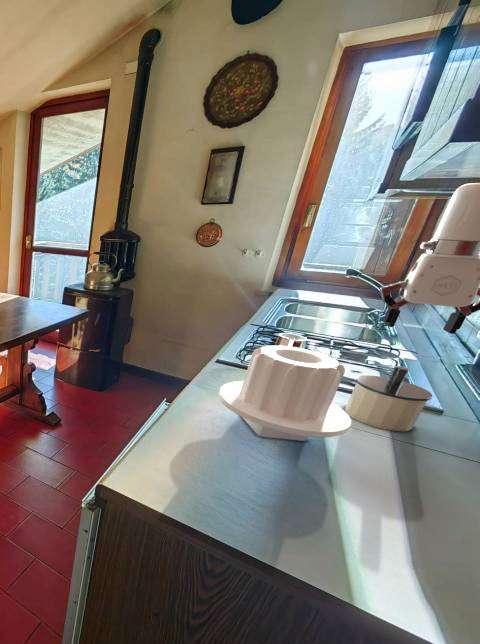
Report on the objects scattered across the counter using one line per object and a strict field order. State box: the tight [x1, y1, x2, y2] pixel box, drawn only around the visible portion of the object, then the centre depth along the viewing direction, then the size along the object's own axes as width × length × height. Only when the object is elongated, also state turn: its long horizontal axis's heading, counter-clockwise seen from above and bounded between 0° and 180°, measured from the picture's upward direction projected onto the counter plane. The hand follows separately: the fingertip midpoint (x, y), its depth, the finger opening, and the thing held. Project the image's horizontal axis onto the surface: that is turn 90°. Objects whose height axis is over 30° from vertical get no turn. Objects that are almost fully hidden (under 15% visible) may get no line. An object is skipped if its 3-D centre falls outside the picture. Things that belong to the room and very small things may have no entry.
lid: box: [355, 365, 433, 402], centre depth 95 cm, size 13×13×6 cm
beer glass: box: [273, 332, 308, 349], centre depth 115 cm, size 7×7×15 cm
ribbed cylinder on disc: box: [217, 344, 352, 442], centre depth 91 cm, size 25×25×19 cm
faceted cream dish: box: [344, 382, 428, 432], centre depth 98 cm, size 12×12×8 cm
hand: (417, 328), depth 87 cm, fingers open, 9 cm apart
